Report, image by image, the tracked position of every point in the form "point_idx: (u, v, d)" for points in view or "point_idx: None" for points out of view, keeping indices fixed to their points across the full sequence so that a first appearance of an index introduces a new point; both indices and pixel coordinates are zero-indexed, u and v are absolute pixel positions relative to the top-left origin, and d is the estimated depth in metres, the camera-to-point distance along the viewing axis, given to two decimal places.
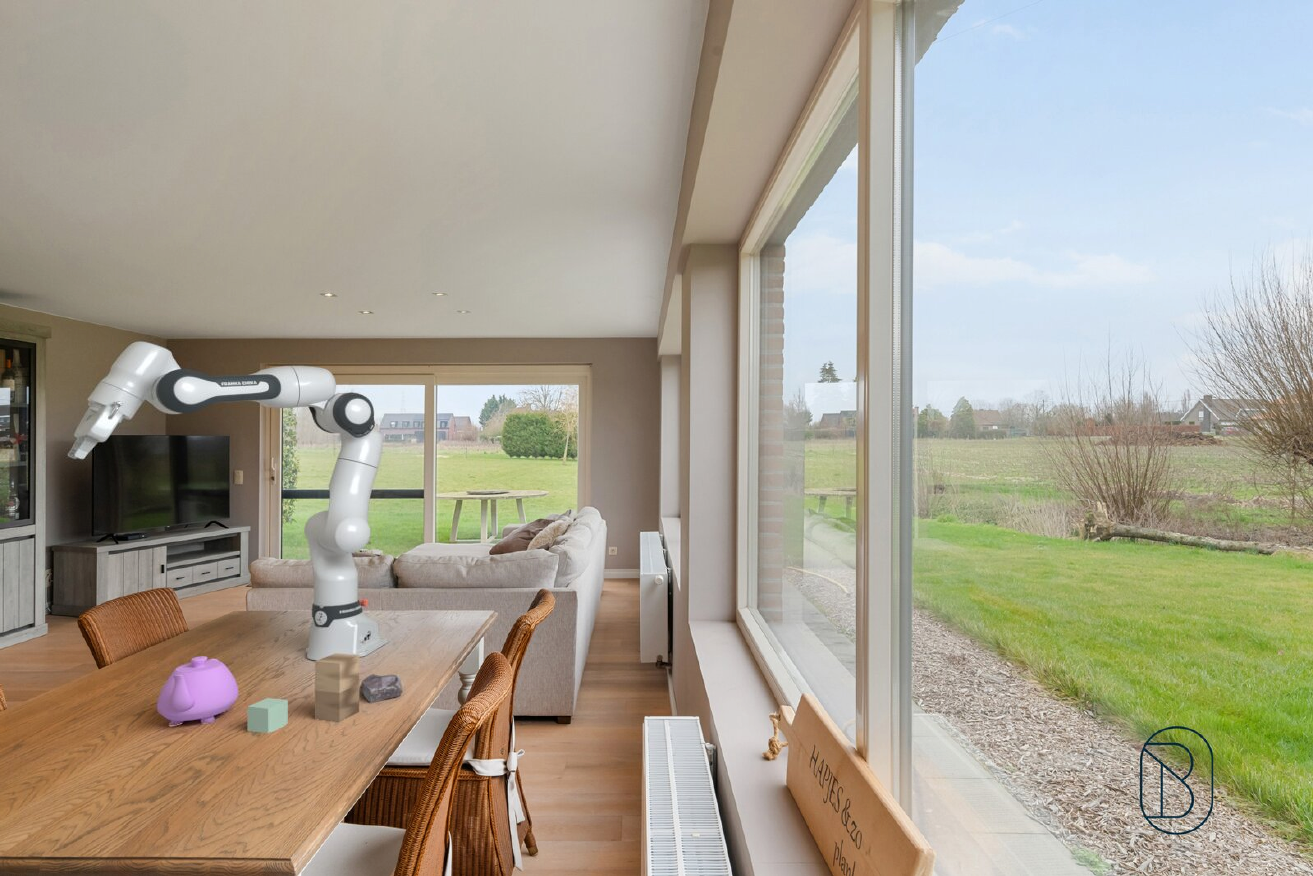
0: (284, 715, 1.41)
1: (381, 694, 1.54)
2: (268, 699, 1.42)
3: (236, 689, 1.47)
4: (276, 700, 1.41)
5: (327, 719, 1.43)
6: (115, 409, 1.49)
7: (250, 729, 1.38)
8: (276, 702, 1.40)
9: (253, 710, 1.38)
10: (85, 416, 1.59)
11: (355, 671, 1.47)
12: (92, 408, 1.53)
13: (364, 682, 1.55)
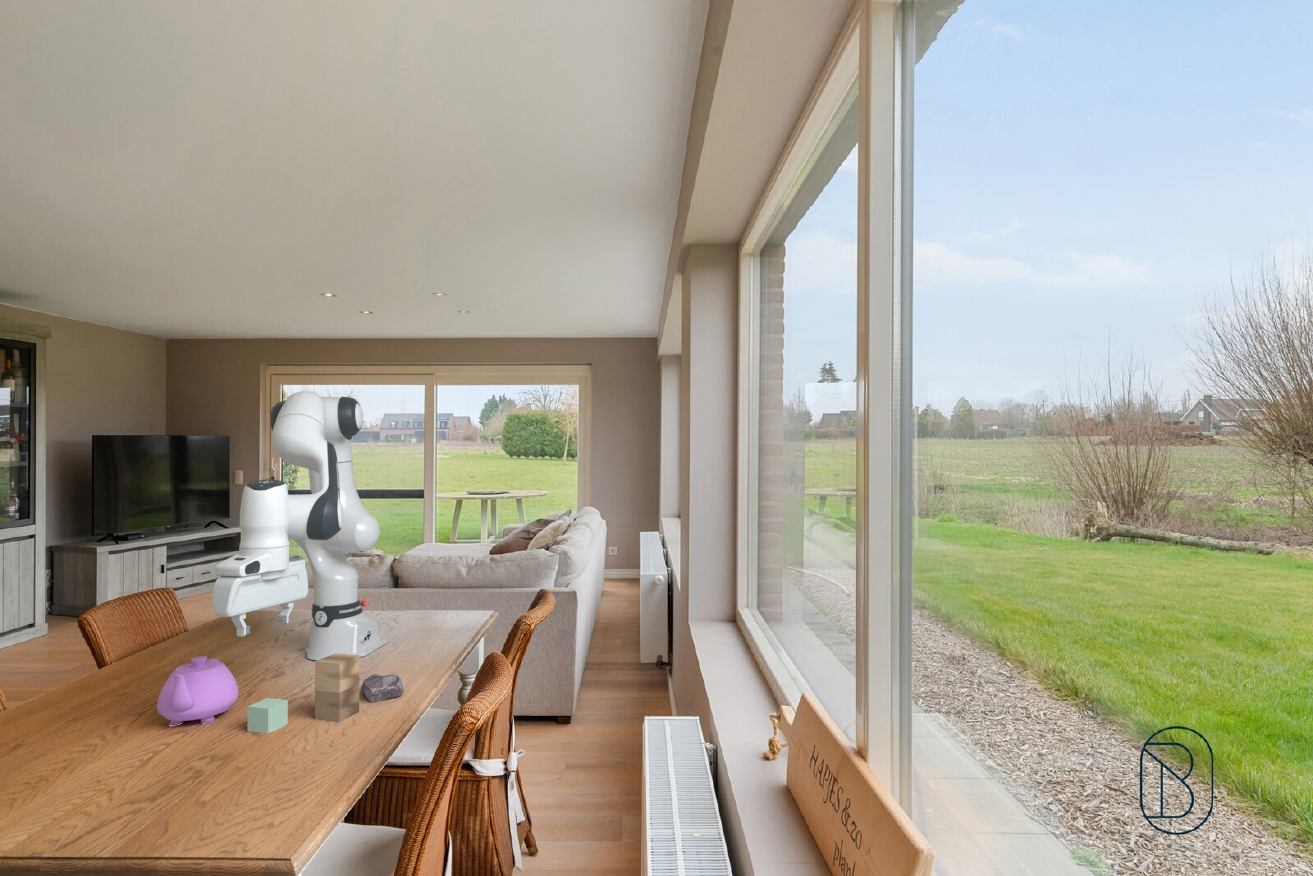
0: (284, 715, 1.41)
1: (382, 694, 1.54)
2: (268, 699, 1.42)
3: (236, 689, 1.47)
4: (276, 700, 1.41)
5: (327, 719, 1.43)
6: None
7: (250, 729, 1.38)
8: (276, 702, 1.40)
9: (253, 710, 1.38)
10: (237, 590, 1.32)
11: (355, 671, 1.47)
12: (281, 575, 1.41)
13: (365, 682, 1.55)
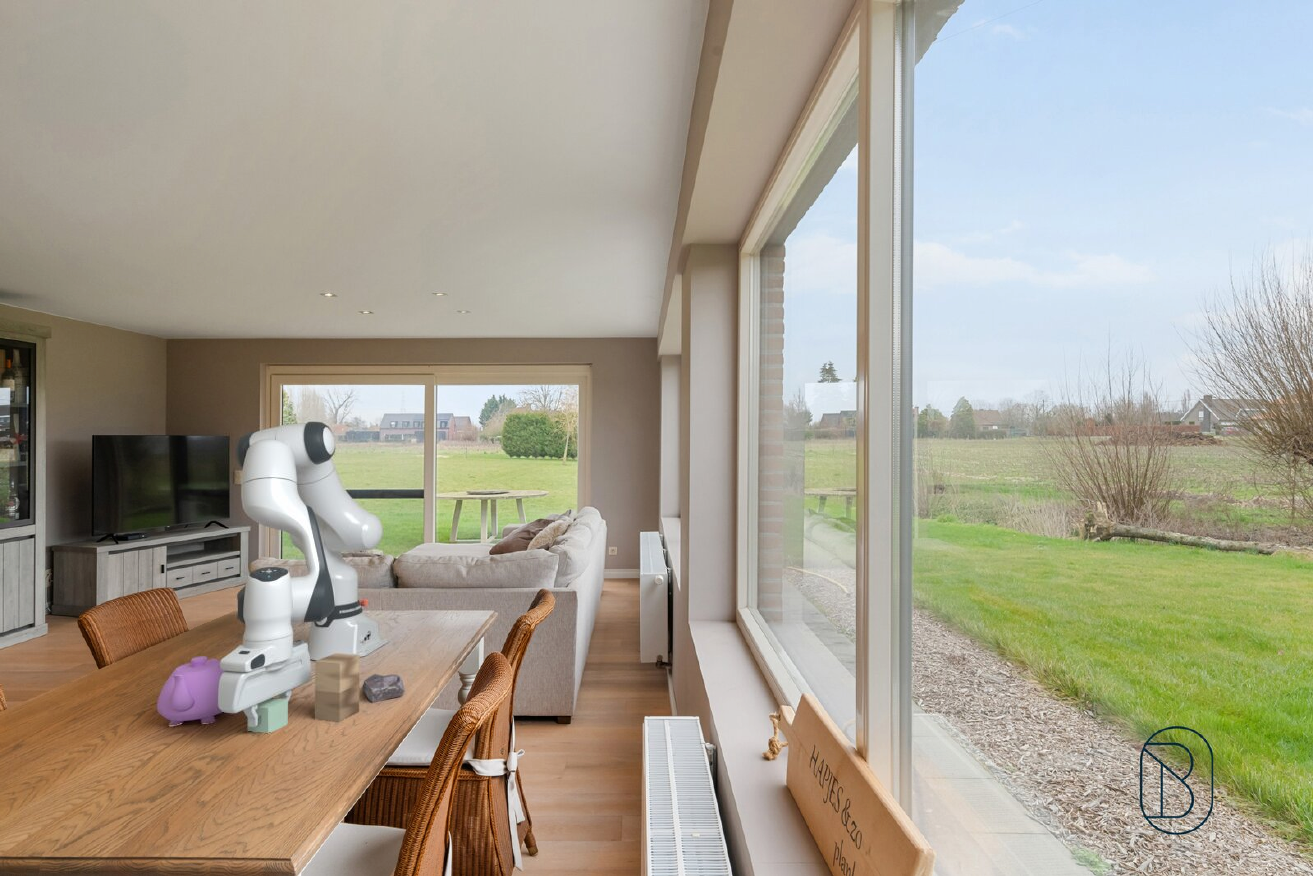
0: (284, 714, 1.41)
1: (383, 694, 1.54)
2: None
3: None
4: (276, 699, 1.41)
5: (327, 719, 1.43)
6: None
7: (250, 728, 1.38)
8: (276, 701, 1.40)
9: None
10: (243, 685, 1.31)
11: (355, 671, 1.47)
12: (285, 664, 1.41)
13: (366, 682, 1.55)
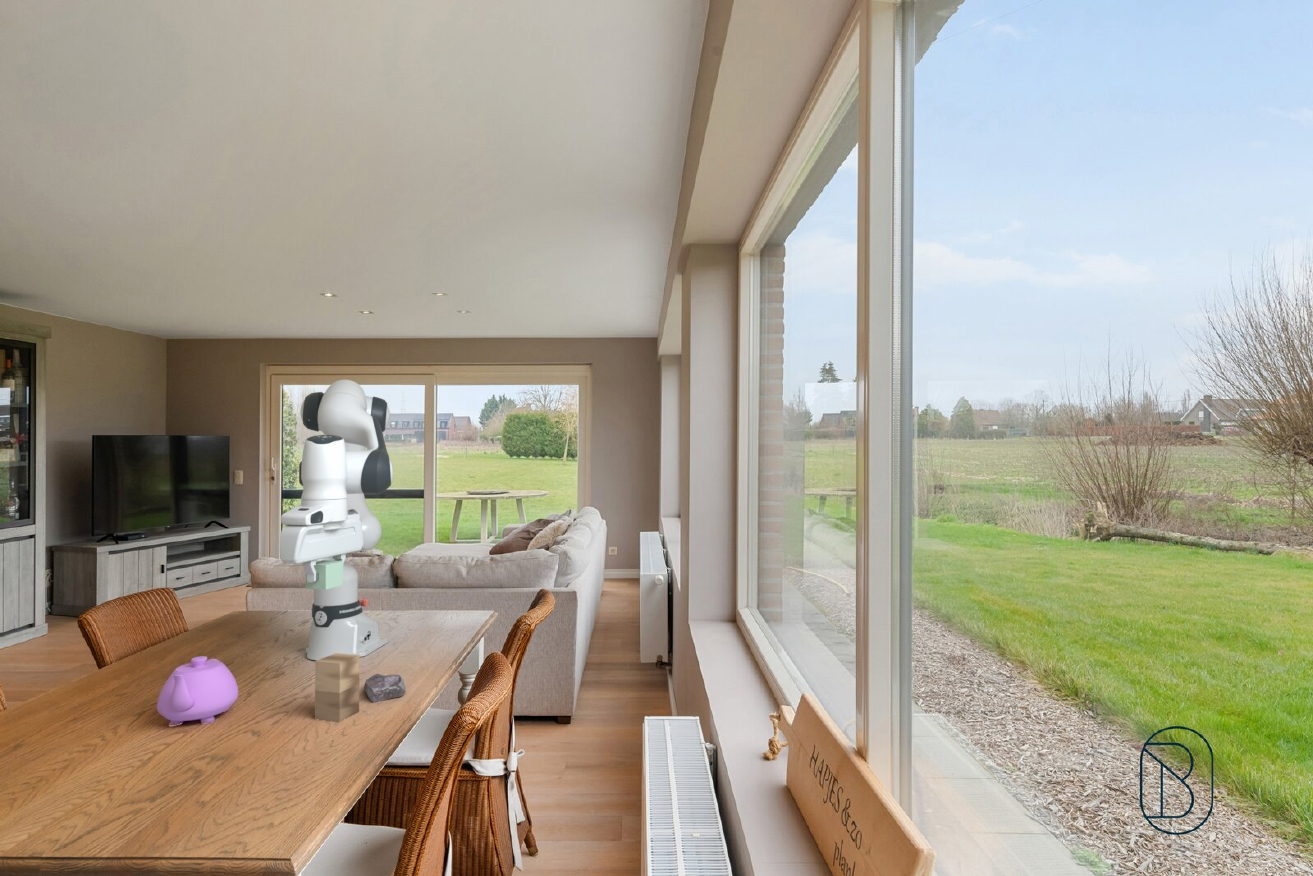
0: (340, 575, 1.46)
1: (383, 694, 1.54)
2: (324, 560, 1.48)
3: (236, 689, 1.47)
4: (332, 561, 1.47)
5: (327, 719, 1.43)
6: None
7: (308, 585, 1.43)
8: (331, 562, 1.46)
9: None
10: (303, 538, 1.37)
11: (355, 671, 1.47)
12: (340, 526, 1.46)
13: (367, 682, 1.56)
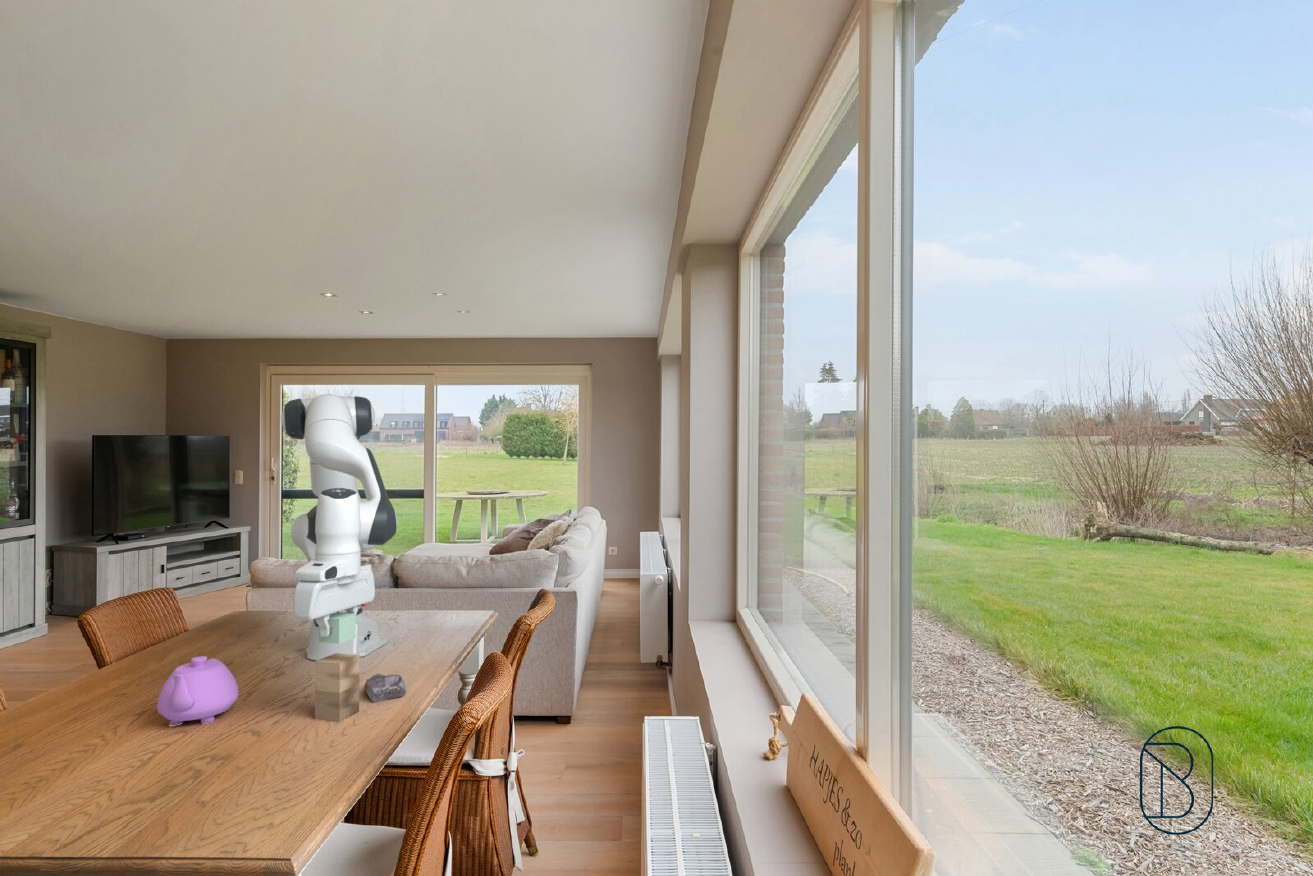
0: (352, 628, 1.47)
1: (384, 694, 1.54)
2: (337, 613, 1.48)
3: (236, 689, 1.47)
4: (344, 614, 1.48)
5: (327, 719, 1.43)
6: None
7: (321, 639, 1.44)
8: (344, 615, 1.47)
9: None
10: (317, 594, 1.38)
11: (355, 671, 1.47)
12: (353, 580, 1.47)
13: (368, 682, 1.56)
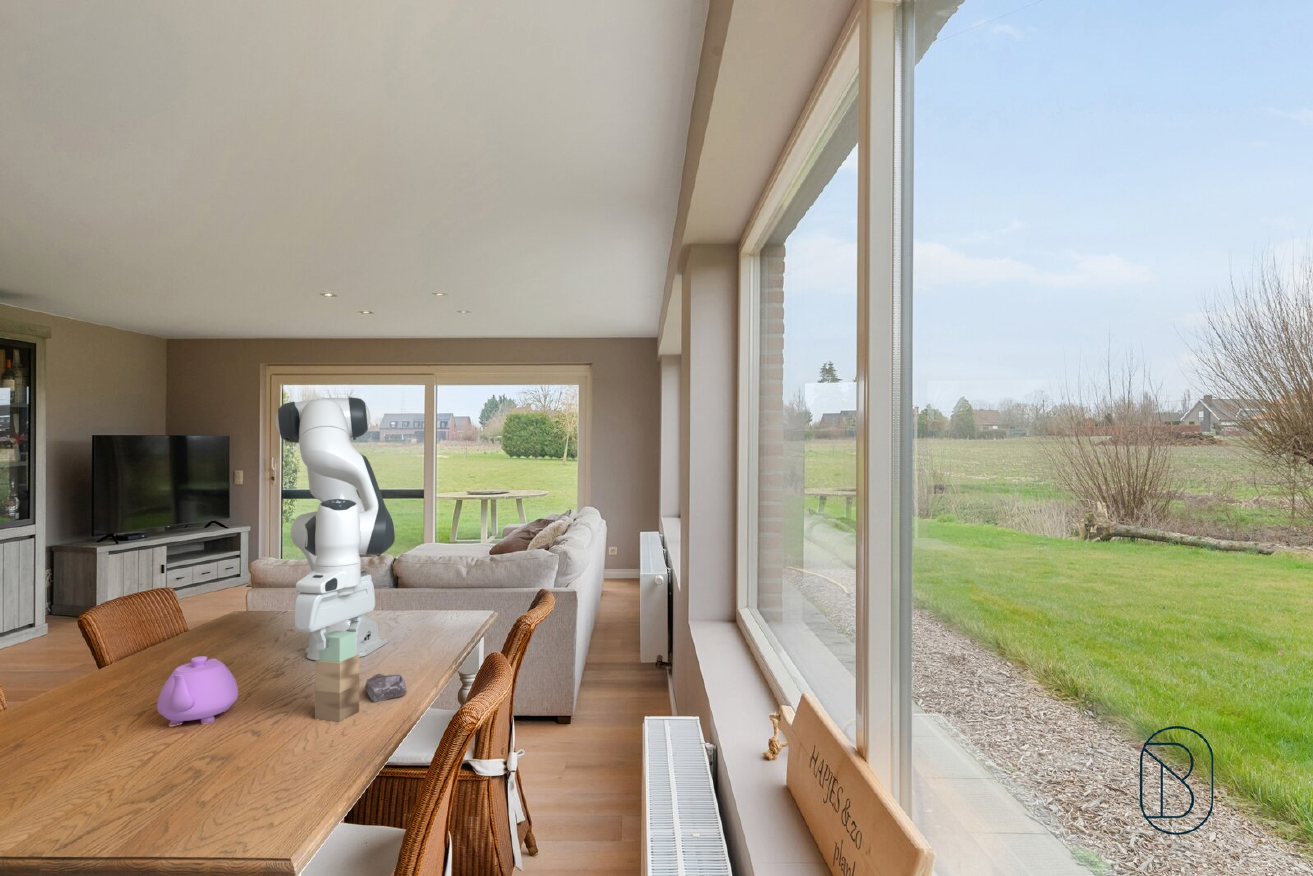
0: (353, 646, 1.47)
1: (384, 693, 1.54)
2: (337, 631, 1.49)
3: (236, 689, 1.47)
4: (345, 632, 1.48)
5: (327, 719, 1.43)
6: None
7: (322, 658, 1.44)
8: (345, 633, 1.47)
9: None
10: (318, 606, 1.38)
11: (355, 671, 1.47)
12: (353, 591, 1.47)
13: (368, 681, 1.56)
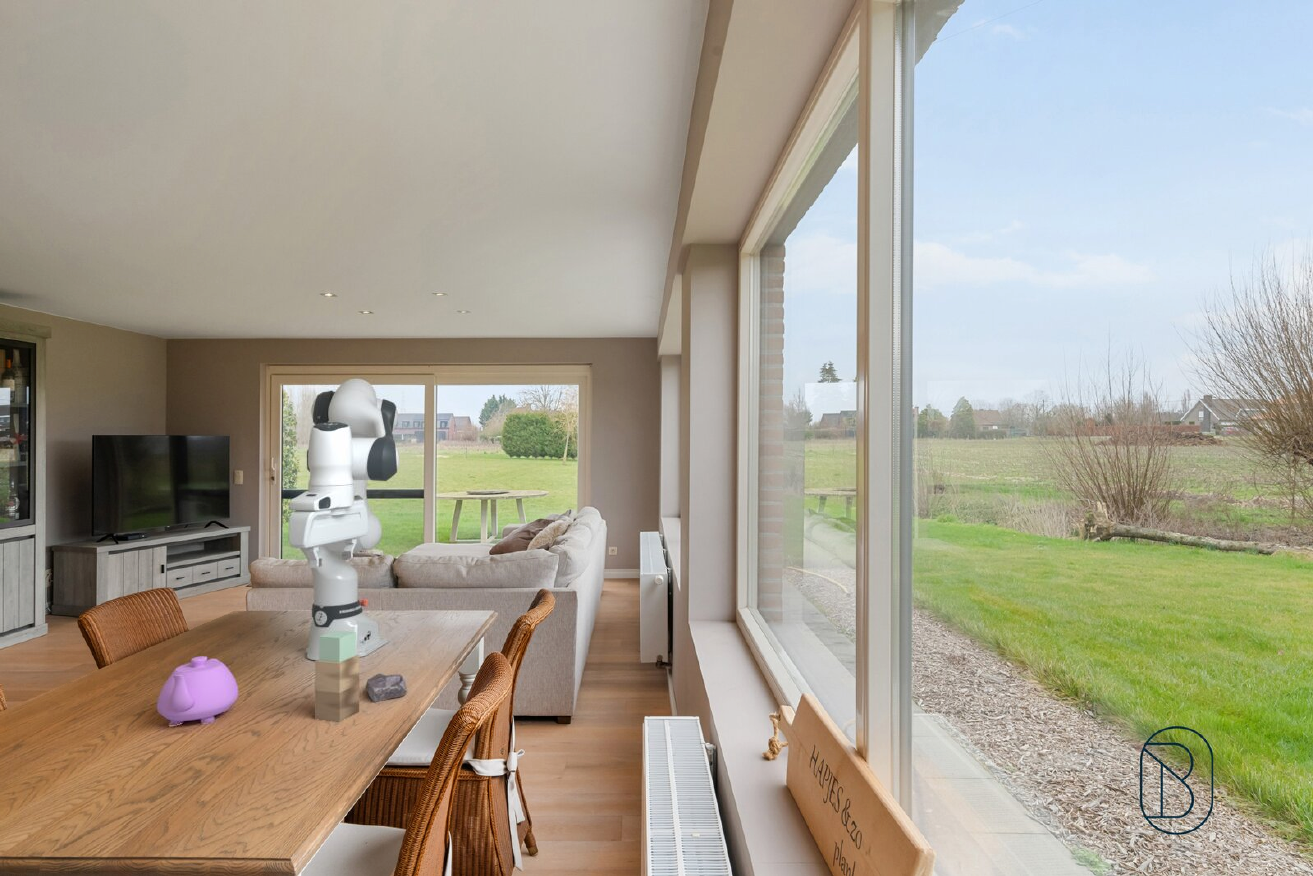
0: (353, 646, 1.47)
1: (385, 693, 1.54)
2: (337, 631, 1.48)
3: (236, 689, 1.47)
4: (345, 632, 1.48)
5: (327, 719, 1.43)
6: None
7: (322, 658, 1.44)
8: (345, 633, 1.47)
9: (325, 640, 1.44)
10: (312, 523, 1.40)
11: (355, 671, 1.47)
12: (347, 512, 1.49)
13: (369, 681, 1.56)
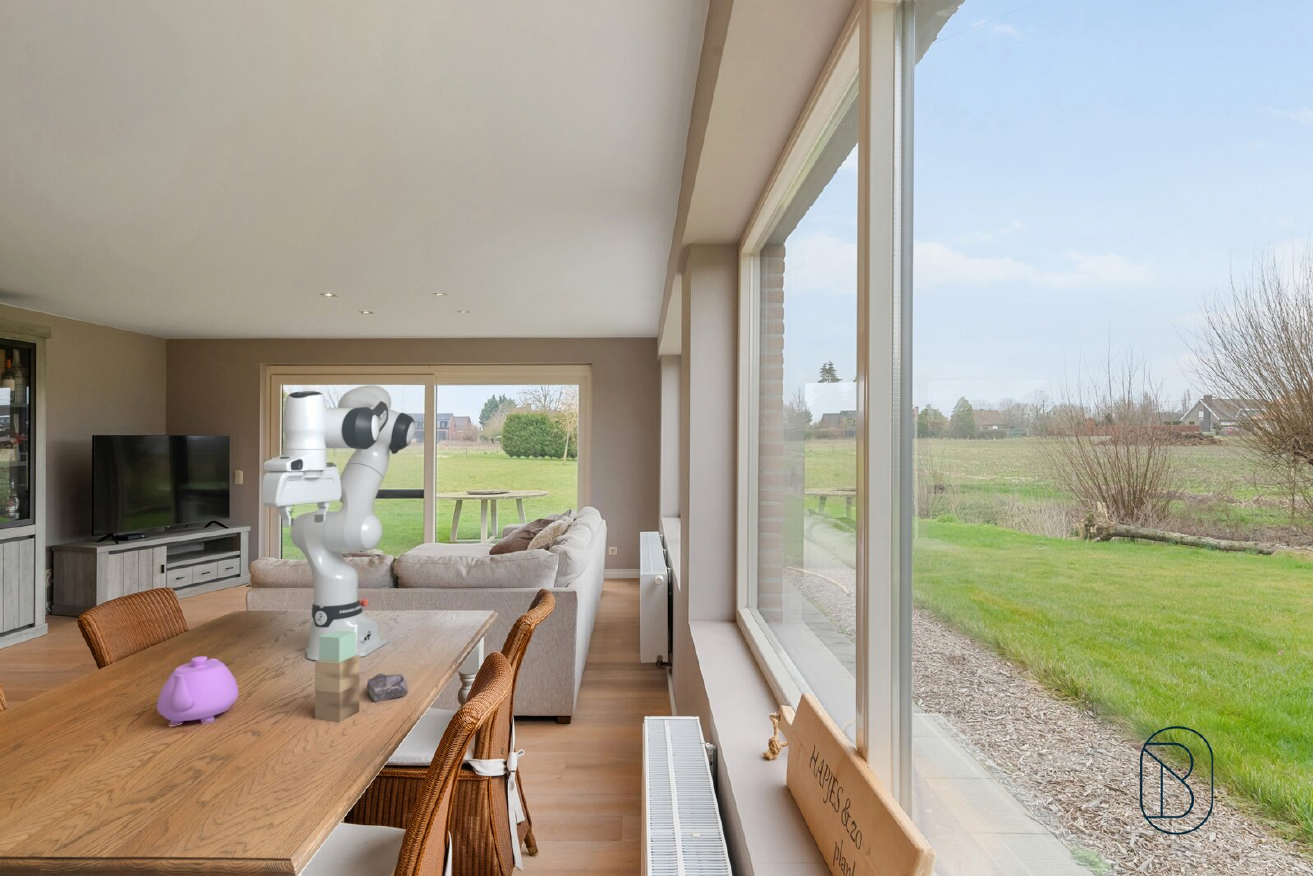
0: (353, 646, 1.47)
1: (385, 693, 1.54)
2: (337, 631, 1.49)
3: (236, 689, 1.47)
4: (345, 632, 1.48)
5: (328, 719, 1.43)
6: None
7: (322, 658, 1.44)
8: (345, 633, 1.47)
9: (324, 640, 1.44)
10: (284, 483, 1.48)
11: (355, 671, 1.47)
12: (319, 476, 1.57)
13: (369, 681, 1.56)
